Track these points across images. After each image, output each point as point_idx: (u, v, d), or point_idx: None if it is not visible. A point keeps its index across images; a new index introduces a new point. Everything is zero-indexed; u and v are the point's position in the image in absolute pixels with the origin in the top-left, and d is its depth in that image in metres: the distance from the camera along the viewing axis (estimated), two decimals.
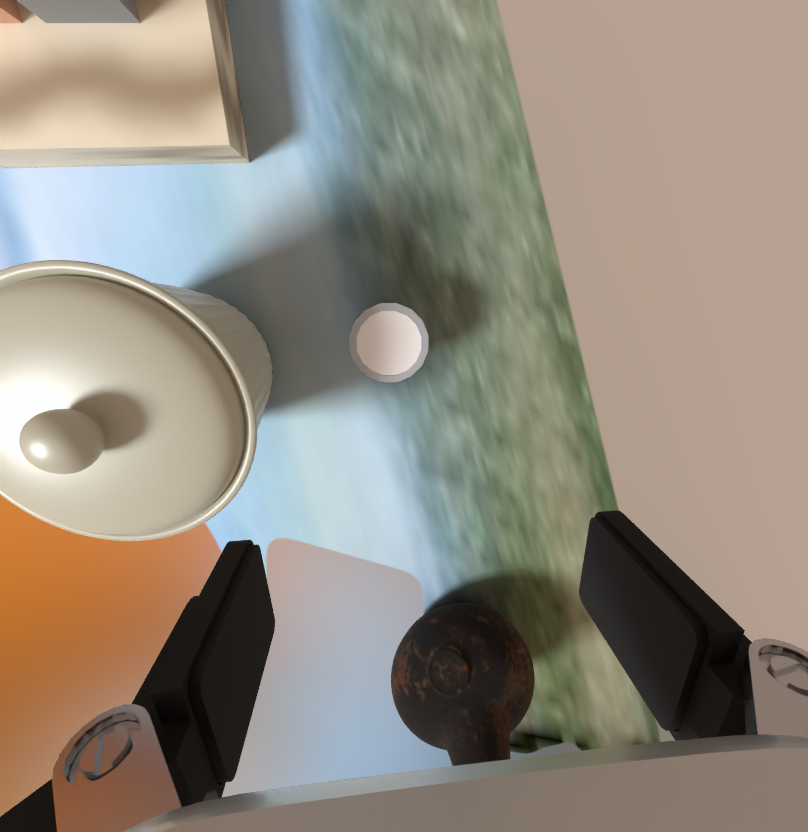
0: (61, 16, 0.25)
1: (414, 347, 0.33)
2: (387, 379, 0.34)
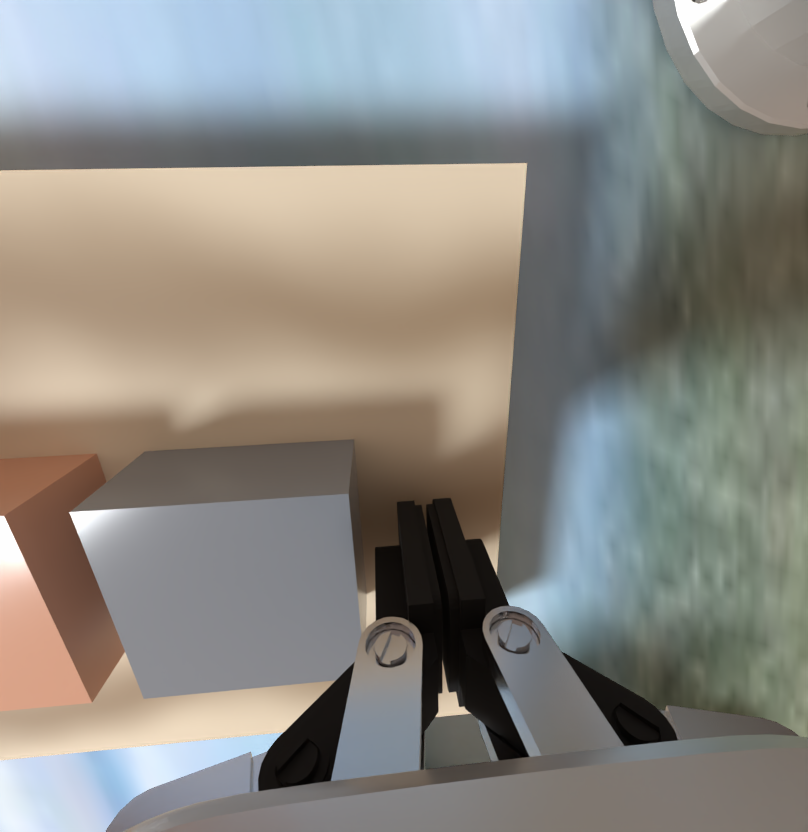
0: None
1: None
2: None
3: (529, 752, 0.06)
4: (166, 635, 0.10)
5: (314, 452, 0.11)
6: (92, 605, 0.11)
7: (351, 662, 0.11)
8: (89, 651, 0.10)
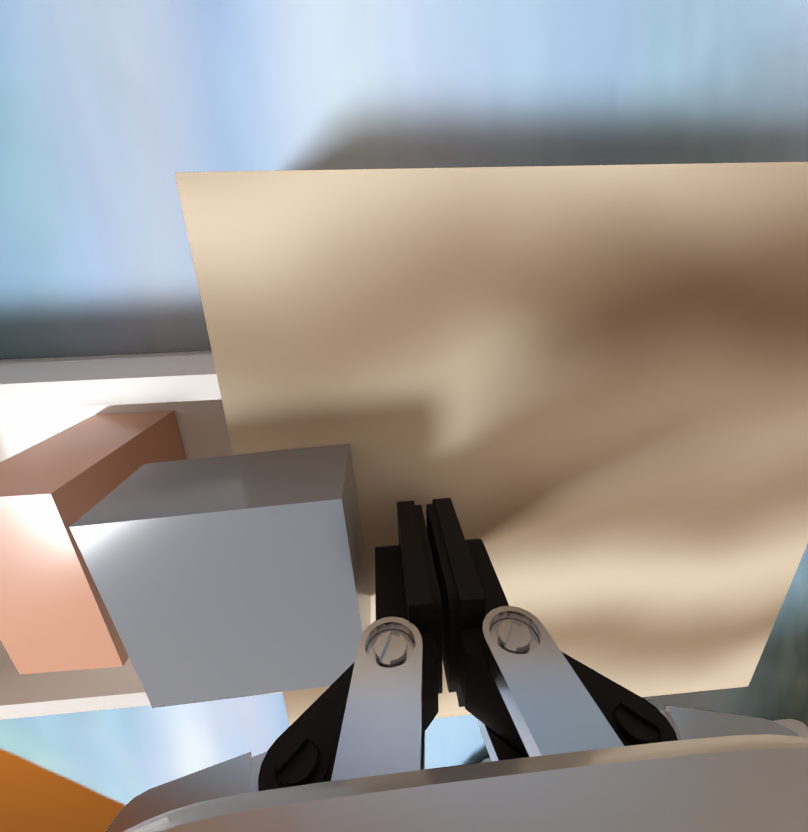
0: None
1: None
2: None
3: (529, 752, 0.06)
4: (171, 645, 0.10)
5: (309, 458, 0.11)
6: (27, 613, 0.11)
7: None
8: (19, 641, 0.11)
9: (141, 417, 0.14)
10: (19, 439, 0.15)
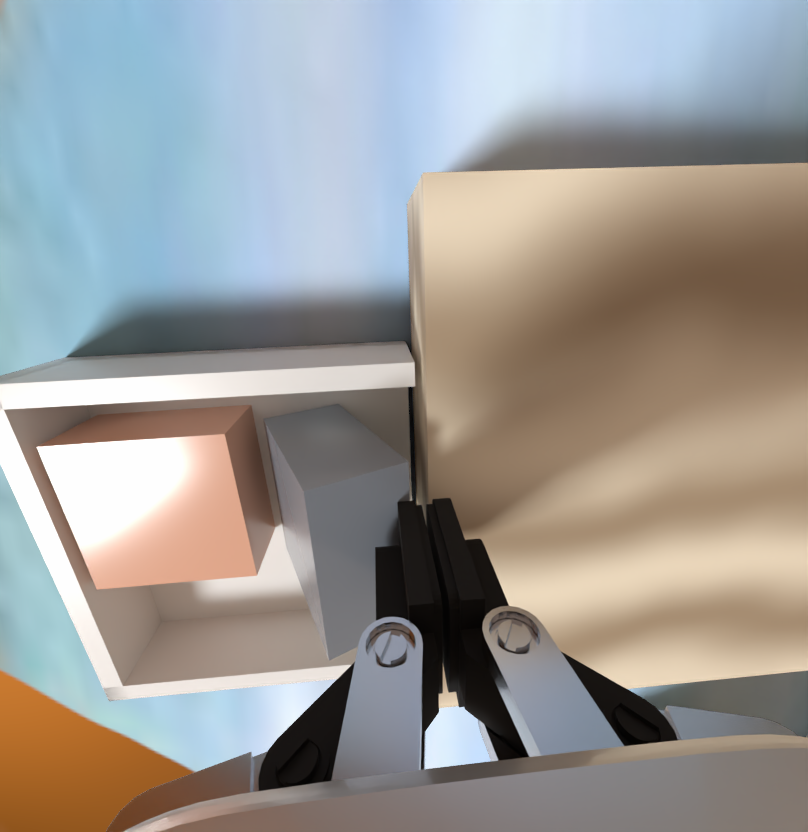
0: None
1: None
2: None
3: (529, 752, 0.06)
4: (284, 517, 0.15)
5: (368, 453, 0.12)
6: None
7: (323, 636, 0.12)
8: None
9: (215, 425, 0.14)
10: None
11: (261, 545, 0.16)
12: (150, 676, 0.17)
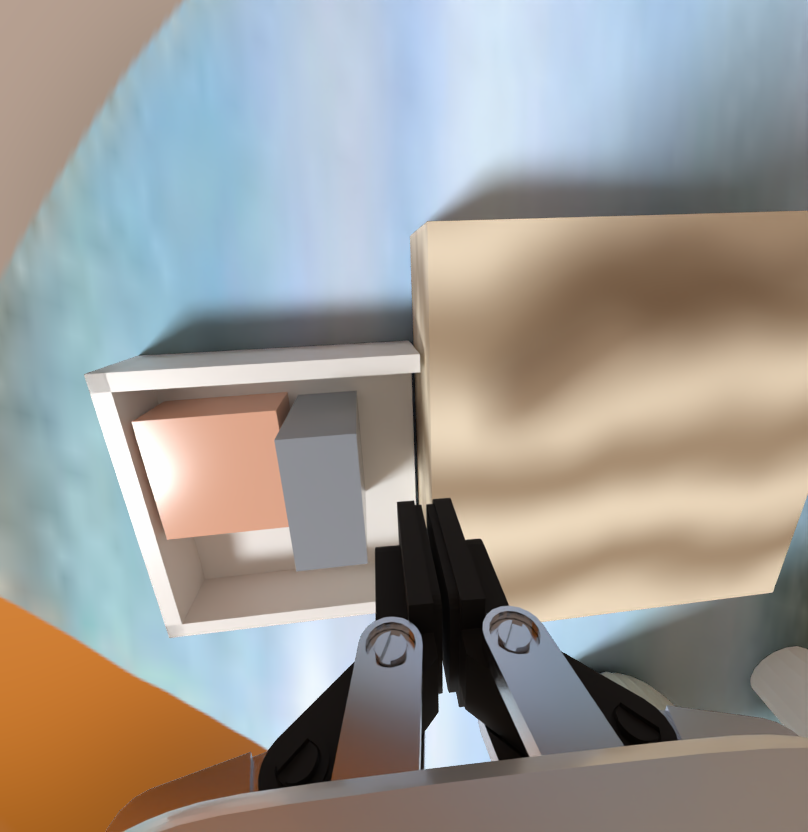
0: None
1: None
2: None
3: (529, 752, 0.06)
4: None
5: (337, 425, 0.15)
6: None
7: None
8: None
9: (265, 405, 0.18)
10: None
11: None
12: (203, 617, 0.20)
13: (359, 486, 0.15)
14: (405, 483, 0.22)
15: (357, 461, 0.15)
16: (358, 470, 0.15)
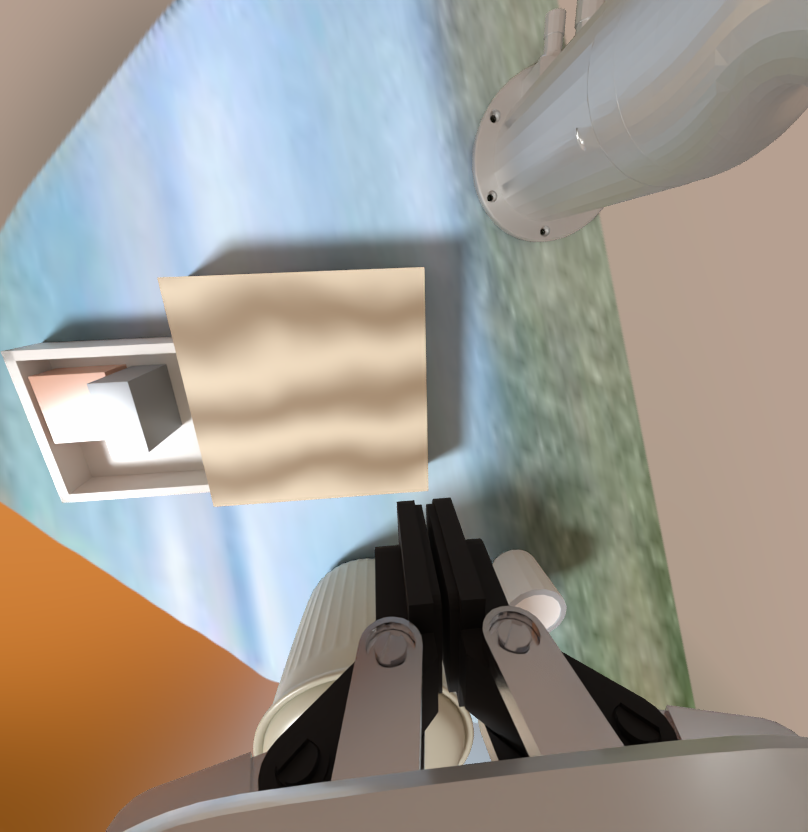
0: None
1: (554, 615, 0.42)
2: None
3: (529, 752, 0.06)
4: None
5: (125, 378, 0.30)
6: None
7: None
8: None
9: (103, 370, 0.33)
10: None
11: None
12: (81, 491, 0.36)
13: (135, 409, 0.30)
14: None
15: (131, 395, 0.30)
16: (133, 400, 0.30)
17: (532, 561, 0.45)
